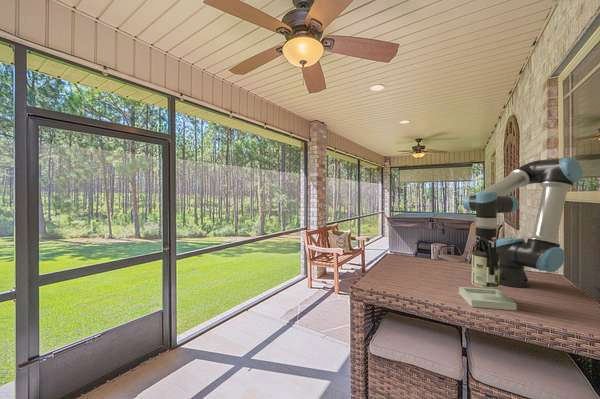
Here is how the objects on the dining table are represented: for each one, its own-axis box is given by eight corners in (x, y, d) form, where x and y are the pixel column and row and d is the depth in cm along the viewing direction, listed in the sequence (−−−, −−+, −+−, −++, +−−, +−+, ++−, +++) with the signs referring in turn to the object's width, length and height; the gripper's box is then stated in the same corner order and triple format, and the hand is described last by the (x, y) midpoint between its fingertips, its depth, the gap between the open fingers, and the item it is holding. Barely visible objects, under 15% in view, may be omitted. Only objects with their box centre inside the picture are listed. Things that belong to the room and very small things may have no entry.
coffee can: (498, 283, 121) (499, 251, 120) (500, 290, 112) (501, 256, 111) (471, 279, 126) (471, 249, 126) (470, 286, 117) (471, 253, 117)
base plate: (497, 295, 125) (497, 289, 125) (516, 310, 110) (516, 303, 109) (458, 292, 129) (458, 286, 129) (471, 306, 113) (471, 300, 113)
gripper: (466, 224, 130) (466, 270, 131) (487, 230, 108) (486, 286, 109) (484, 224, 128) (484, 271, 129) (509, 231, 106) (508, 287, 107)
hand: (485, 278), depth 119 cm, fingers closed on coffee can, 10 cm apart
